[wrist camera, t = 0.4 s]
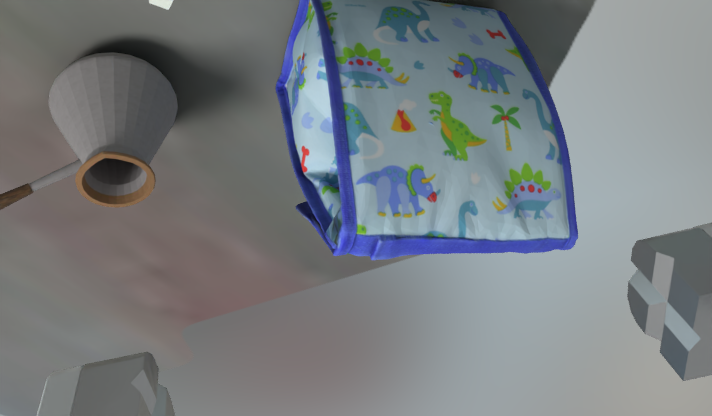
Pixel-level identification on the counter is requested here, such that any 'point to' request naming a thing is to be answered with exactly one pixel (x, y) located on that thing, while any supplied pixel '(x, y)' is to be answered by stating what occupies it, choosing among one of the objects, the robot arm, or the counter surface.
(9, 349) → the counter surface
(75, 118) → the coffee pot
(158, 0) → the brackets
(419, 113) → the lunch bag
